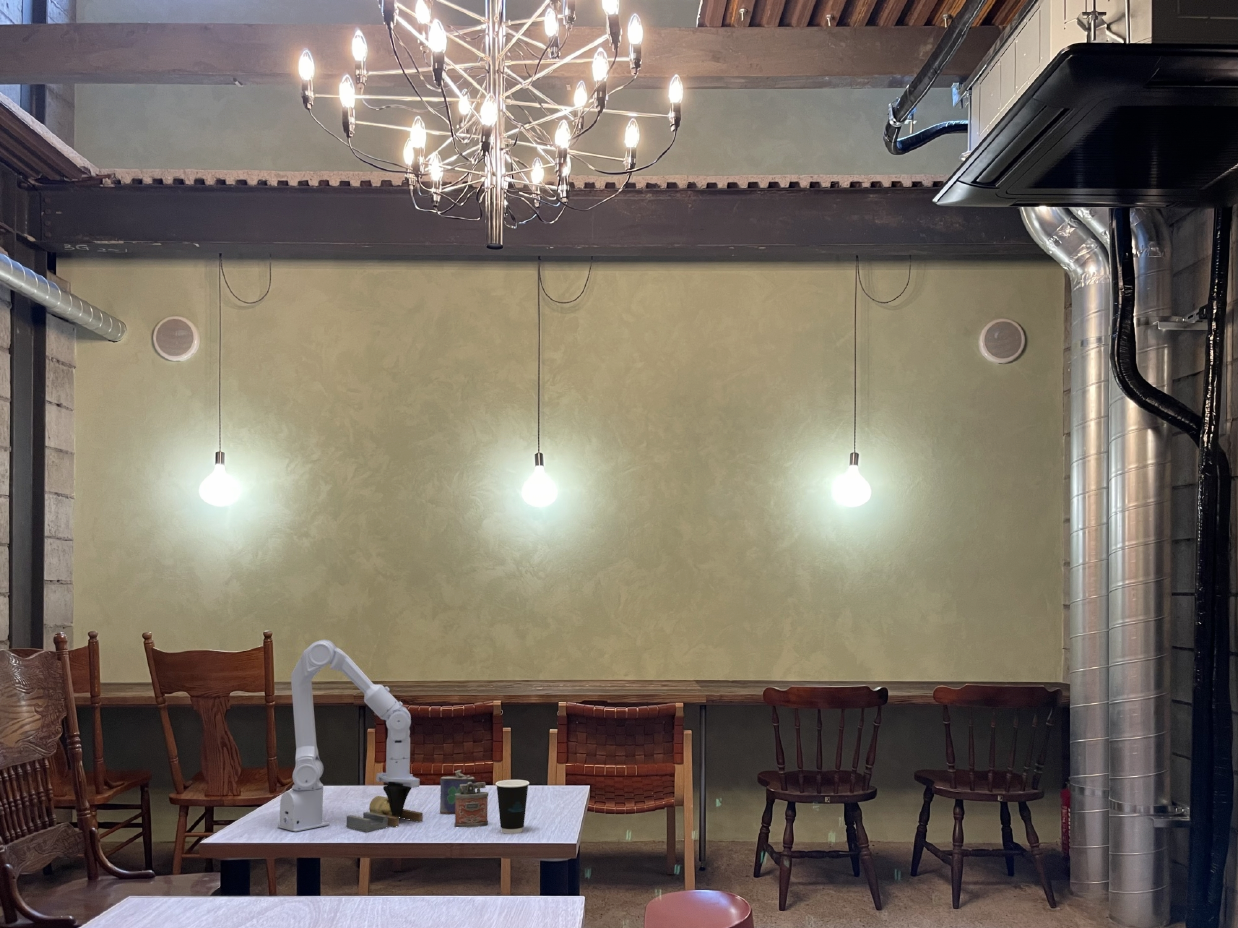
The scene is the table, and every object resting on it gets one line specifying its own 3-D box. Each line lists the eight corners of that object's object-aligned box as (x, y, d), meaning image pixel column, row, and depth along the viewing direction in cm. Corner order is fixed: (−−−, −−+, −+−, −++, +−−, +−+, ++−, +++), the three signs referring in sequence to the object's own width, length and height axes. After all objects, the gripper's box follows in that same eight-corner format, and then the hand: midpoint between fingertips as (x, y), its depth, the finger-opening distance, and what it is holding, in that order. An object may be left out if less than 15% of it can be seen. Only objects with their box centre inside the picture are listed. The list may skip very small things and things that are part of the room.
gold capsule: (400, 820, 248) (404, 799, 250) (384, 819, 245) (388, 798, 246) (383, 816, 253) (387, 796, 254) (367, 816, 249) (371, 795, 251)
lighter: (455, 828, 238) (455, 784, 239) (453, 825, 241) (454, 782, 243) (489, 825, 240) (489, 782, 241) (487, 822, 243) (487, 780, 245)
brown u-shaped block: (394, 827, 239) (394, 818, 240) (374, 822, 244) (374, 814, 245) (422, 821, 246) (422, 812, 246) (402, 816, 251) (402, 808, 251)
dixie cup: (516, 836, 229) (516, 786, 231) (488, 832, 233) (488, 783, 234) (535, 829, 236) (535, 781, 238) (507, 825, 240) (508, 778, 241)
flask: (438, 814, 254) (439, 770, 255) (442, 811, 257) (443, 768, 258) (473, 815, 252) (474, 771, 253) (477, 812, 255) (477, 769, 256)
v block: (366, 832, 234) (366, 820, 235) (346, 827, 240) (346, 815, 240) (387, 827, 239) (387, 815, 239) (367, 822, 244) (367, 811, 244)
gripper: (429, 758, 246) (428, 815, 244) (393, 752, 255) (391, 808, 253) (406, 762, 241) (405, 820, 239) (370, 756, 250) (368, 812, 248)
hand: (396, 814), depth 246 cm, fingers closed
